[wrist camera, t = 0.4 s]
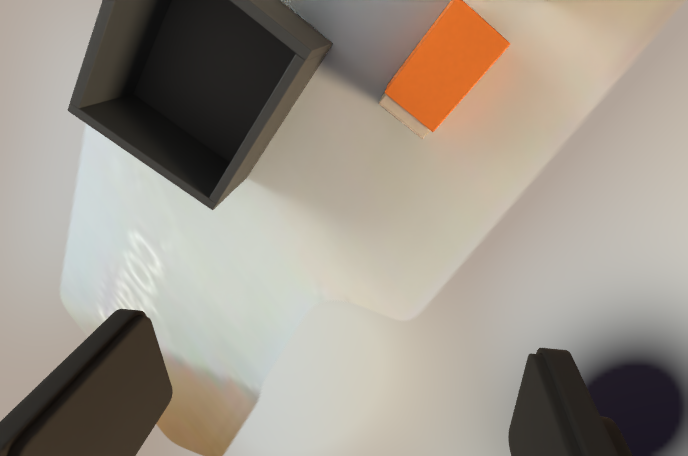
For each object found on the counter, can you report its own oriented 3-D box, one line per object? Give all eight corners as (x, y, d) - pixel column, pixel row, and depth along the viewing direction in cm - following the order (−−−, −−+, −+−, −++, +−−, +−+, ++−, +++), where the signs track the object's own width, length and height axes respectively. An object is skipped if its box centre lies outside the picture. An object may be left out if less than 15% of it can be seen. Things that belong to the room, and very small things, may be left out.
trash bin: (194, -70, 31) (132, -95, 24) (332, 43, 33) (311, 50, 27) (128, 93, 38) (66, 110, 32) (246, 178, 41) (212, 210, 34)
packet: (452, -2, 31) (457, -5, 27) (500, 40, 31) (510, 44, 28) (380, 94, 35) (376, 103, 31) (423, 129, 36) (424, 142, 32)
